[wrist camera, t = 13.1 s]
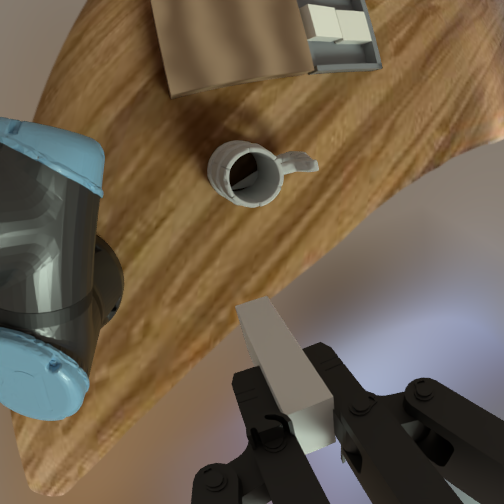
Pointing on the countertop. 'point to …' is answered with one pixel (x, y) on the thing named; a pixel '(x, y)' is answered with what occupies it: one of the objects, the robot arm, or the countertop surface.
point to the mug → (260, 182)
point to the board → (229, 42)
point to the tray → (343, 55)
